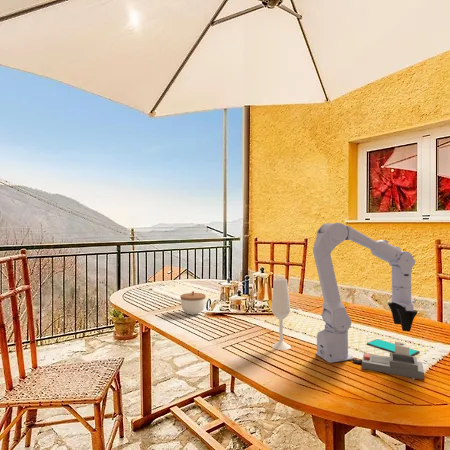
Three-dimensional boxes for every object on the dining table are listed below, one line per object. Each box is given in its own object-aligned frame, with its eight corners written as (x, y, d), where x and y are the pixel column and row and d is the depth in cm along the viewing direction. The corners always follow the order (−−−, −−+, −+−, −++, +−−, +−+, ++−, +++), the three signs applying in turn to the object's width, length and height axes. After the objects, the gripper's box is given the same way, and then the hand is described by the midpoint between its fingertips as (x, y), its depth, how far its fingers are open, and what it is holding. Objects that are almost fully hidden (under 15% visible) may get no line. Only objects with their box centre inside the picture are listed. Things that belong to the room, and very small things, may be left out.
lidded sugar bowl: (207, 310, 167) (207, 289, 168) (203, 317, 155) (203, 294, 155) (183, 310, 169) (183, 289, 169) (177, 316, 156) (177, 293, 156)
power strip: (351, 366, 98) (351, 355, 98) (354, 357, 105) (354, 346, 105) (424, 379, 89) (424, 367, 89) (422, 368, 96) (421, 357, 96)
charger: (395, 361, 102) (394, 345, 102) (395, 356, 105) (394, 341, 105) (409, 363, 100) (409, 347, 100) (409, 359, 103) (408, 343, 104)
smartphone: (409, 356, 104) (366, 343, 117) (409, 359, 104) (366, 345, 117) (420, 351, 109) (377, 338, 121) (420, 353, 109) (377, 341, 121)
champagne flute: (270, 343, 119) (270, 278, 119) (289, 343, 119) (288, 278, 119) (273, 350, 112) (272, 281, 112) (292, 350, 112) (291, 281, 112)
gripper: (423, 291, 100) (424, 335, 100) (406, 283, 114) (406, 321, 114) (399, 290, 101) (399, 333, 101) (384, 282, 115) (385, 320, 115)
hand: (401, 327), depth 108 cm, fingers open, 7 cm apart
